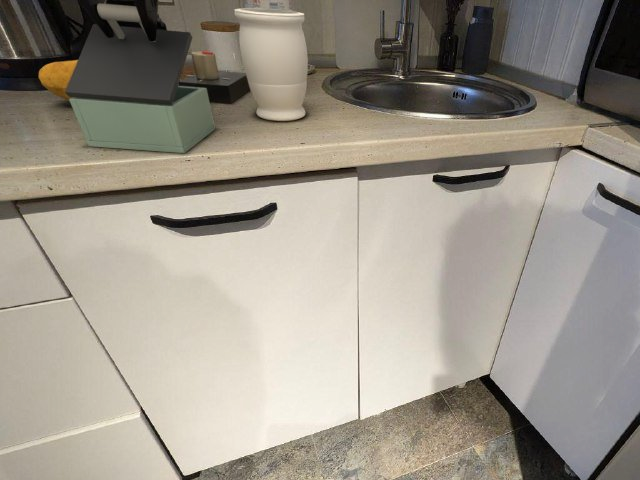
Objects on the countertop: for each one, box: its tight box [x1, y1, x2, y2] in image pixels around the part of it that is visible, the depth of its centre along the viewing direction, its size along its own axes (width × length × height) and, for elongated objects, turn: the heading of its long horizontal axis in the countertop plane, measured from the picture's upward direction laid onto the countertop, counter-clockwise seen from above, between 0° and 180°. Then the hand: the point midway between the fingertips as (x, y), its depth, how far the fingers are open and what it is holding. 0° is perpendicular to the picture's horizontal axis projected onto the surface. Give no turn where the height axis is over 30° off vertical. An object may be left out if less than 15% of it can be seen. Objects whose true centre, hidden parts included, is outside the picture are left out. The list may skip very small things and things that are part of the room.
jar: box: [234, 7, 309, 122], centre depth 65 cm, size 11×10×15 cm
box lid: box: [65, 3, 193, 105], centre depth 49 cm, size 12×13×5 cm
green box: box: [68, 85, 216, 154], centre depth 55 cm, size 11×13×6 cm
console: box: [178, 70, 251, 104], centre depth 77 cm, size 12×10×3 cm
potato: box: [38, 59, 78, 101], centre depth 65 cm, size 8×14×7 cm, turn 108°
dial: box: [190, 50, 219, 80], centre depth 74 cm, size 4×4×4 cm
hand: (132, 39), depth 50 cm, fingers closed on box lid, 5 cm apart
